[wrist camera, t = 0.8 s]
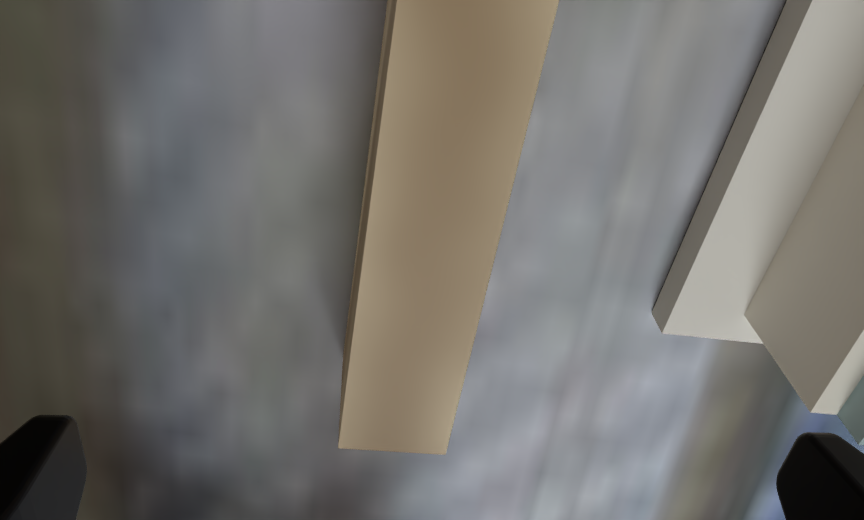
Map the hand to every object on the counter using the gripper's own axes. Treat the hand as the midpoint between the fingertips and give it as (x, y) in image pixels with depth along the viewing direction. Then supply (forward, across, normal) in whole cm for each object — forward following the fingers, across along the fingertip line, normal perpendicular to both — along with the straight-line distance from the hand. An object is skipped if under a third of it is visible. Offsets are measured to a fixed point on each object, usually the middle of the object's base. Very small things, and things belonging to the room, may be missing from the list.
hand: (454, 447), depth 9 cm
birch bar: (+12, -1, -1) cm, 12 cm away
